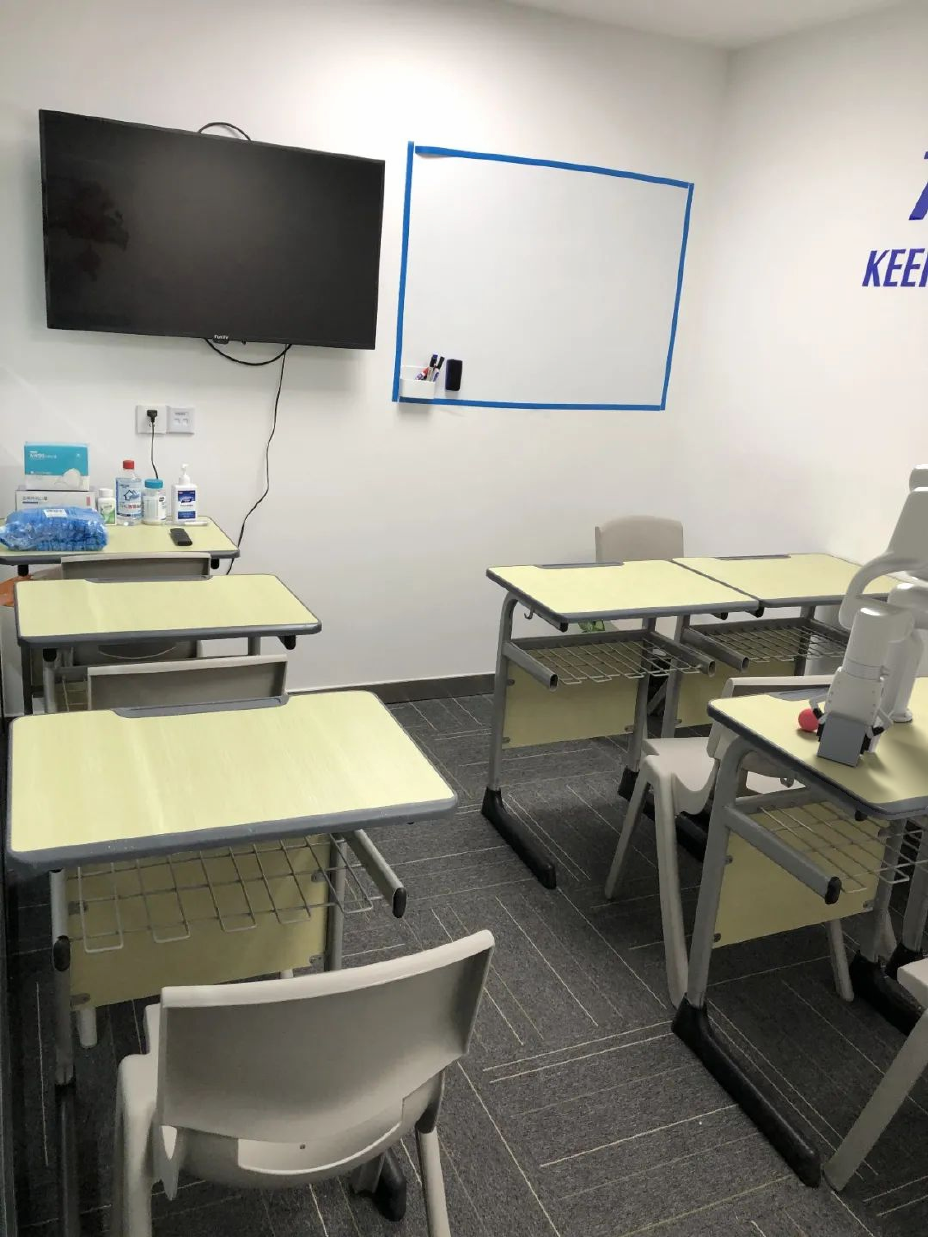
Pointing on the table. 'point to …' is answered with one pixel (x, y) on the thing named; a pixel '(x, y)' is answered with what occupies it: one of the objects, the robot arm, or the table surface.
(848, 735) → the grey cube
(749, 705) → the table surface
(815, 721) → the ball
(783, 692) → the table surface
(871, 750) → the milkshake
